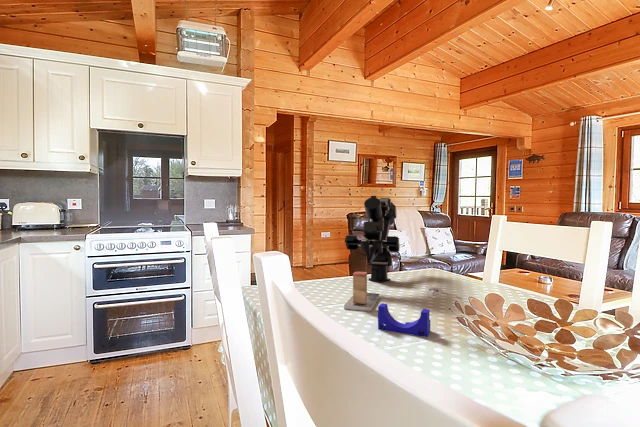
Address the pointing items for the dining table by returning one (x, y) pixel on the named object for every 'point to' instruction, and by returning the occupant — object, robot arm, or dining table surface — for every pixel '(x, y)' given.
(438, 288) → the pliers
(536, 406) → the dining table surface
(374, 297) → the flange plate
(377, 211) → the robot arm
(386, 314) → the blue cradle bracket
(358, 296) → the marker post
